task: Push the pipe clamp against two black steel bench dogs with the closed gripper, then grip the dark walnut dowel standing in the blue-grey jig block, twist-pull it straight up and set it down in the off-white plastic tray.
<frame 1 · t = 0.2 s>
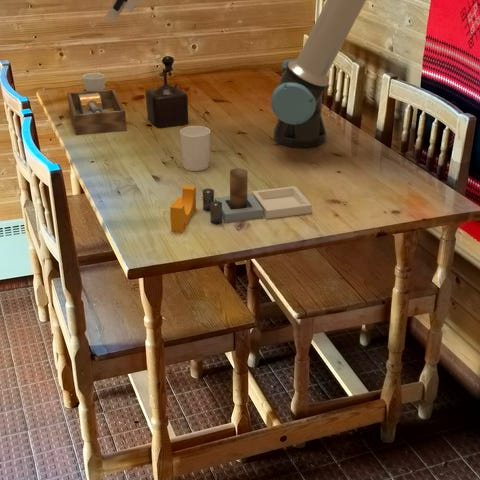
hand: (119, 13, 192), 36 cm above the table, tool tilted 35°, fingers open, 13 cm apart
bench dogs: (212, 216, 167), on the table
pipe clamp: (180, 222, 166), on the table
dowel: (238, 211, 169), resting on jig block
jig block: (238, 213, 169), on the table
tool caddy: (96, 120, 225), on the table
white cup: (195, 167, 194), on the table
teacup: (94, 90, 253), on the table
tray: (281, 207, 172), on the table
vise: (94, 121, 225), resting in tool caddy
coffee grinder: (166, 119, 227), on the table
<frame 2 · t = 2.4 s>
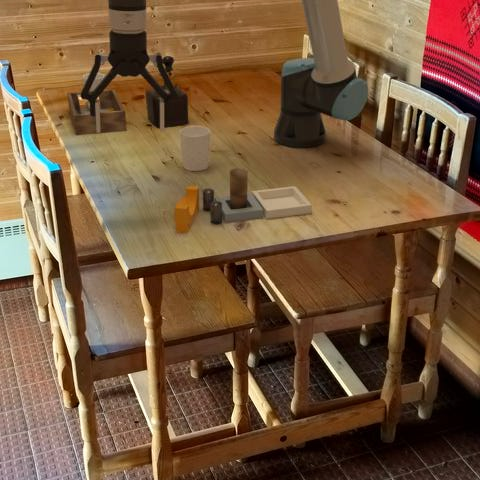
hand: (130, 130, 157), 21 cm above the table, tool pointing down, fingers open, 13 cm apart
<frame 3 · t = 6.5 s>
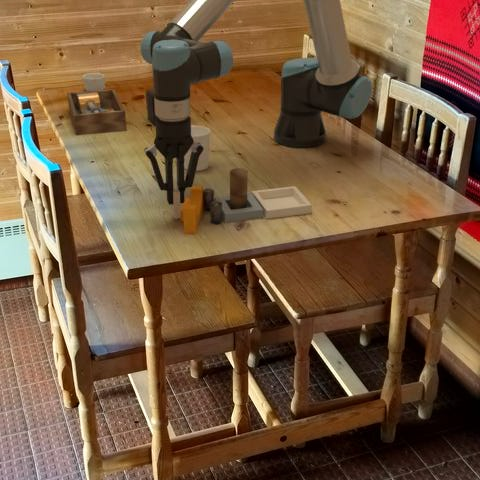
hand: (176, 215, 165), 1 cm above the table, tool pointing down, fingers closed
pipe clamp: (190, 223, 165), on the table, touching bench dogs, gripper
everything else where it was.
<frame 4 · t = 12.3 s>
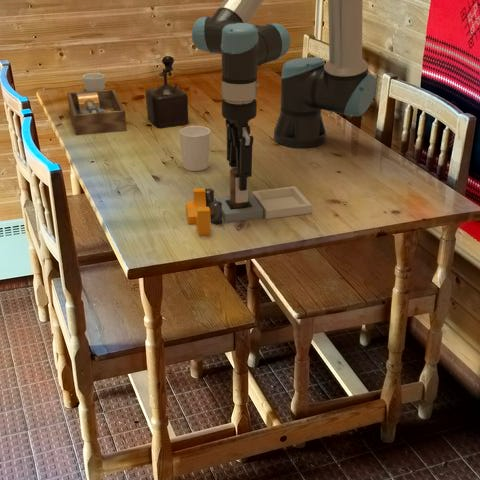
hand: (238, 197, 167), 4 cm above the table, tool pointing down, fingers closed on dowel, 4 cm apart
pipe clamp: (198, 226, 164), on the table
dowel: (238, 210, 169), point 1 cm above the table, touching gripper
when the fingers open (6 cm above the table, at t = 16.9 s): dowel drops 2 cm, resting on tray.
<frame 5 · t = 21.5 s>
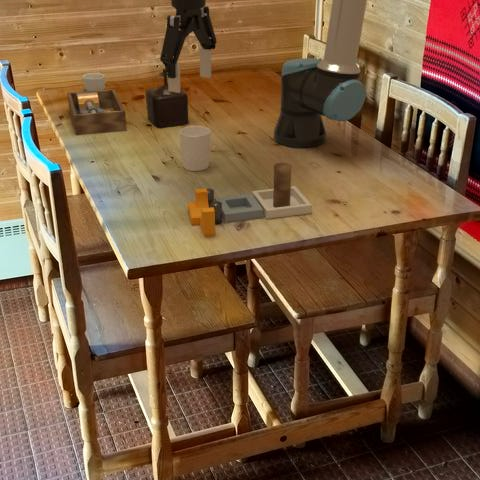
hand: (190, 84, 168), 27 cm above the table, tool pointing down, fingers open, 13 cm apart
dowel: (281, 205, 172), point 1 cm above the table, touching tray
at the end: dowel inside the target area on the tray (0.1 cm from its centre), point 0.6 cm above the tray's base; the gripper is holding nothing; pipe clamp inside the target area (3.5 cm from its centre), on the table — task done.
